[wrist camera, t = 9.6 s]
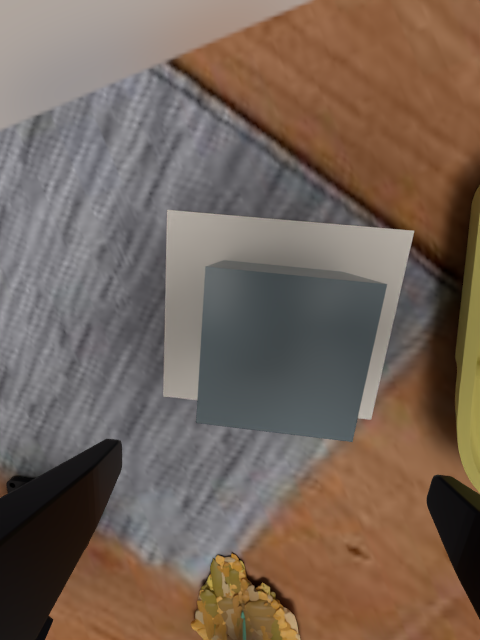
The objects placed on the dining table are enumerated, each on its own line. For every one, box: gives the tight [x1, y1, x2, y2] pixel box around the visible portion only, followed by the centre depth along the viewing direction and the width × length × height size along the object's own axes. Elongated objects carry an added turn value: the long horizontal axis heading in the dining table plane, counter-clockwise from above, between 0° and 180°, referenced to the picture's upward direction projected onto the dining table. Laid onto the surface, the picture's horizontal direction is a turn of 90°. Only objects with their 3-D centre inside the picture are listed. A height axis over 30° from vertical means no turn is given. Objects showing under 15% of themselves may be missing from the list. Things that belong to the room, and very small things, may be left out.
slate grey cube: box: [196, 260, 387, 442], centre depth 15 cm, size 7×7×6 cm
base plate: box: [163, 210, 414, 420], centre depth 17 cm, size 14×12×4 cm
